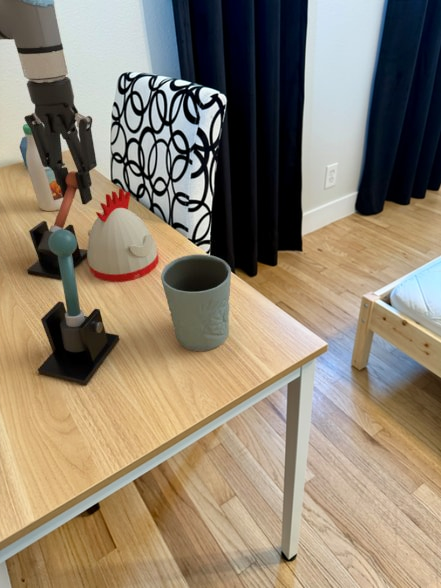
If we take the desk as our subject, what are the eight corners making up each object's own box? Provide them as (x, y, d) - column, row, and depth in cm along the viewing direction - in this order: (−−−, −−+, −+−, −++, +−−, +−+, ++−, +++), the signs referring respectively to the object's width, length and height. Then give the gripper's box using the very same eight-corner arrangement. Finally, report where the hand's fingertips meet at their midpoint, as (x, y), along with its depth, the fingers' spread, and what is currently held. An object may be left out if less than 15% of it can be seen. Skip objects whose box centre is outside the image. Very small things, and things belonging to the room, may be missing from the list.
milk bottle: (45, 214, 106) (20, 131, 94) (35, 204, 111) (10, 124, 99) (75, 205, 110) (54, 125, 98) (64, 196, 115) (44, 118, 103)
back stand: (57, 249, 93) (47, 215, 88) (90, 254, 90) (82, 219, 86) (27, 274, 85) (14, 238, 80) (62, 280, 83) (51, 244, 78)
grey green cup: (243, 340, 68) (243, 278, 61) (186, 364, 64) (179, 301, 57) (213, 306, 75) (209, 247, 68) (159, 326, 71) (150, 265, 64)
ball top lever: (57, 223, 59) (35, 233, 55) (84, 227, 58) (64, 237, 54) (75, 333, 67) (57, 349, 64) (99, 338, 66) (83, 354, 63)
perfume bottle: (25, 167, 133) (13, 127, 126) (38, 160, 138) (27, 121, 131) (42, 168, 132) (30, 128, 124) (54, 161, 136) (44, 122, 129)
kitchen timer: (172, 256, 89) (164, 187, 80) (125, 289, 80) (110, 216, 71) (123, 238, 95) (111, 173, 86) (75, 268, 86) (55, 198, 77)
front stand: (76, 330, 71) (64, 291, 66) (120, 339, 69) (111, 300, 64) (38, 374, 63) (21, 333, 59) (86, 386, 61) (73, 345, 56)
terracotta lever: (74, 177, 91) (62, 165, 87) (92, 179, 90) (81, 167, 86) (46, 256, 87) (32, 247, 82) (64, 259, 85) (52, 250, 81)
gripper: (100, 75, 77) (122, 197, 91) (22, 72, 81) (55, 189, 95) (76, 84, 71) (104, 212, 85) (-6, 81, 75) (33, 204, 89)
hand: (78, 200), depth 90 cm, fingers closed on terracotta lever, 4 cm apart
